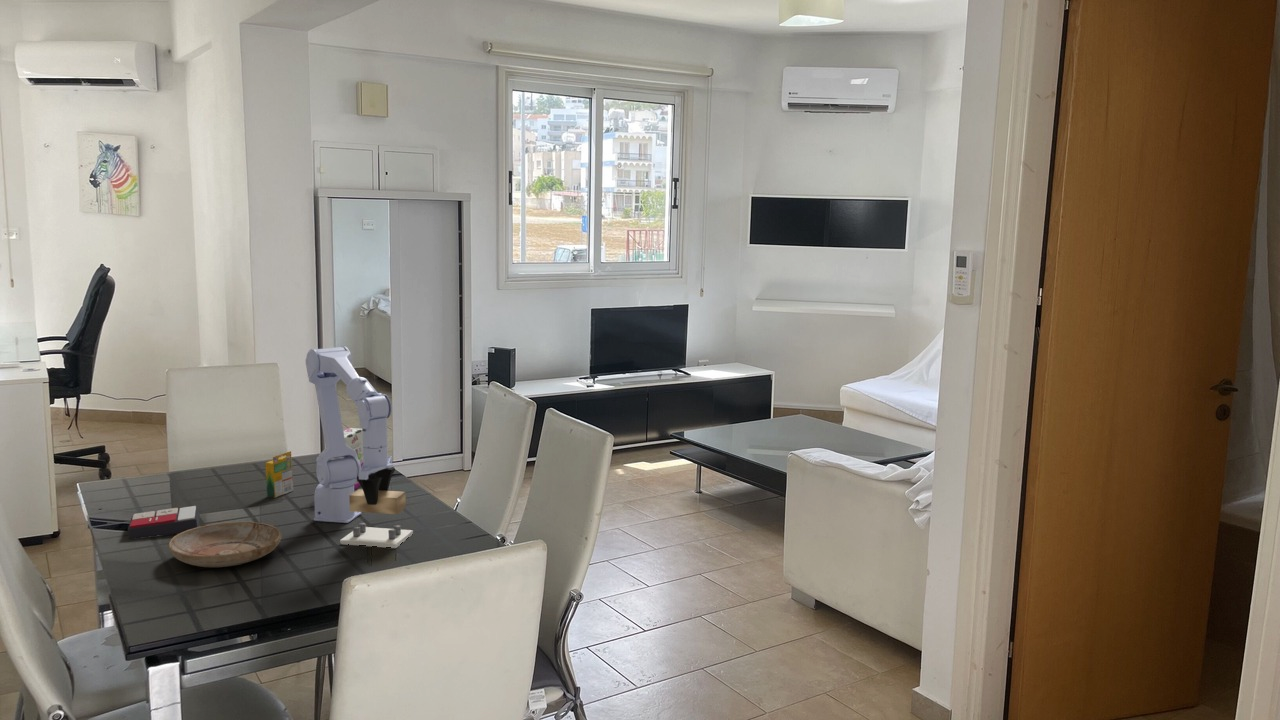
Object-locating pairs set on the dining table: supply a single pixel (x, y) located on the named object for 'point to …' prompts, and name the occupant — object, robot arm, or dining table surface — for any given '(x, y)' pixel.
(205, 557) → the ceramic bowl
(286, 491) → the crayon box
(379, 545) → the peg stand
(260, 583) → the dining table surface
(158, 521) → the black box with panels
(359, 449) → the candy bar box
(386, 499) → the tan rectangular block
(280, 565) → the dining table surface
